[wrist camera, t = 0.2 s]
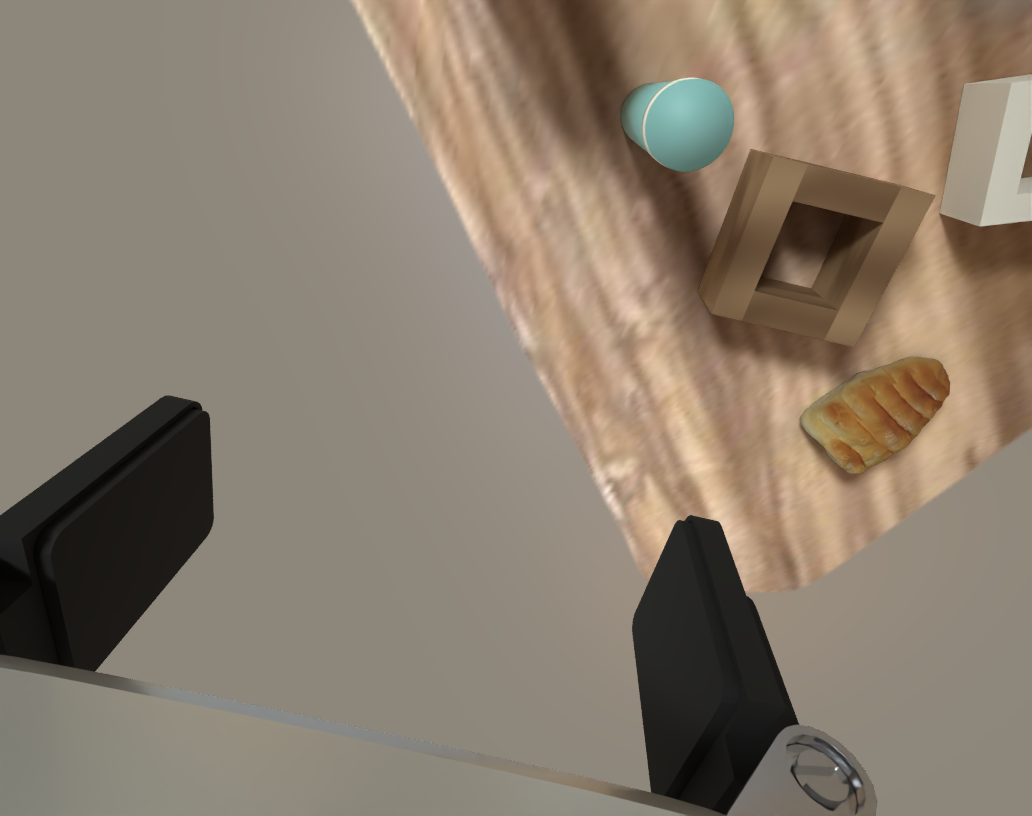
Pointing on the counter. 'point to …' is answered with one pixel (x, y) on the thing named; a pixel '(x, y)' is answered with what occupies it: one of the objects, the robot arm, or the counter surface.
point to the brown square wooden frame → (847, 268)
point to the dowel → (679, 122)
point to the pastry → (877, 412)
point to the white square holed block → (991, 154)
